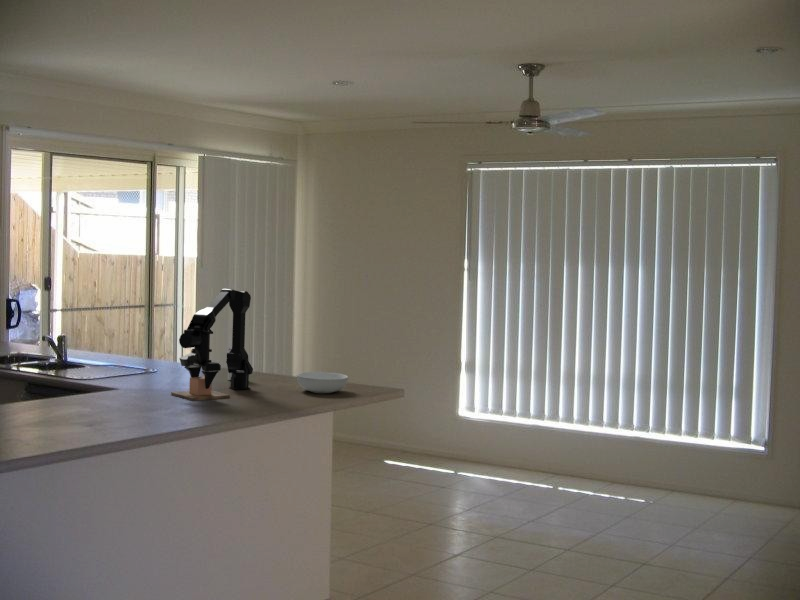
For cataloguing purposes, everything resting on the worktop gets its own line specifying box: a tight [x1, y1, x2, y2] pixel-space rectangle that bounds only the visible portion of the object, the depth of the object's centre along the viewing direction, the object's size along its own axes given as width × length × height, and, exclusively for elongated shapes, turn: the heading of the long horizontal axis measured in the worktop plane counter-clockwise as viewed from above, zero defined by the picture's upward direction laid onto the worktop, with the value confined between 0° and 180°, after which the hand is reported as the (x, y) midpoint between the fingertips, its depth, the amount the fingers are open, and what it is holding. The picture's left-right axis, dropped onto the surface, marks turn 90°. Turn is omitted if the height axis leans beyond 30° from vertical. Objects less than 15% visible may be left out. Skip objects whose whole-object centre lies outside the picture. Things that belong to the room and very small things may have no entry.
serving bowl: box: [296, 371, 349, 394], centre depth 381 cm, size 21×21×7 cm
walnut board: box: [170, 390, 231, 402], centre depth 357 cm, size 16×16×1 cm
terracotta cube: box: [188, 376, 213, 395], centre depth 357 cm, size 6×6×6 cm
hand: (200, 387), depth 357 cm, fingers open, 9 cm apart
